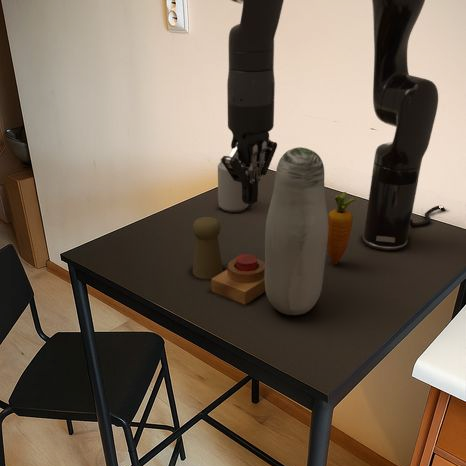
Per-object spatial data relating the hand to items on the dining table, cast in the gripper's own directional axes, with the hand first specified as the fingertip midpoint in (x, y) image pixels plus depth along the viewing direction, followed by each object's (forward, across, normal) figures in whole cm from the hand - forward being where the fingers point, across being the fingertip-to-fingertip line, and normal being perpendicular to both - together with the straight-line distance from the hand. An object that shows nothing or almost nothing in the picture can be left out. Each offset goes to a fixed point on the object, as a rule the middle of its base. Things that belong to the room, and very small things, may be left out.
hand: (250, 202), depth 104 cm
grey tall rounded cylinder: (+16, -3, -12) cm, 20 cm away
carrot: (+16, +17, -9) cm, 25 cm away
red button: (+12, -2, -1) cm, 12 cm away
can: (+16, +28, +26) cm, 41 cm away
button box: (+16, -2, -1) cm, 16 cm away
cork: (+16, -2, +9) cm, 19 cm away
